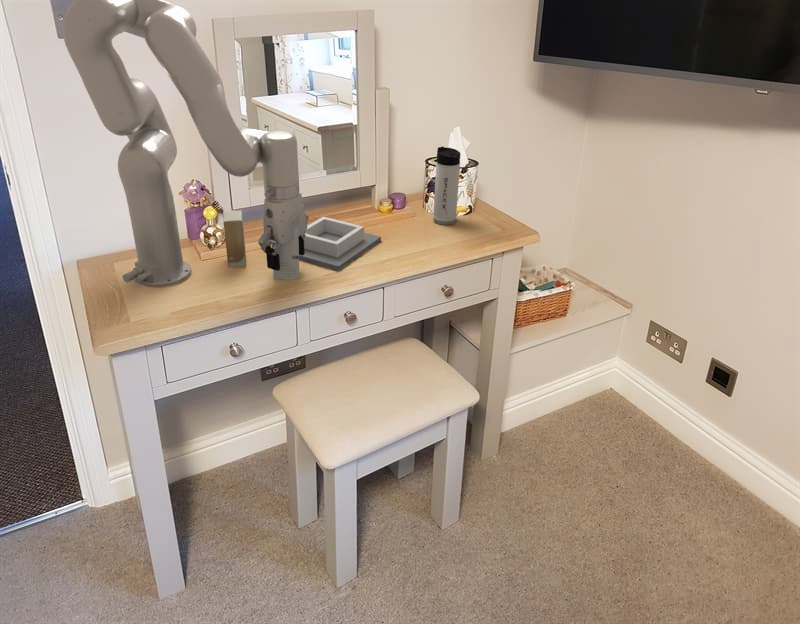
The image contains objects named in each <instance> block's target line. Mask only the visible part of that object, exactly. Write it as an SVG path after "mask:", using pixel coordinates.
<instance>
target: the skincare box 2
mask: <svg viewBox="0 0 800 624" xmlns="http://www.w3.org/2000/svg"><path fill="white" fill-rule="evenodd" d="M273 240H275V239H274V237H273ZM274 245H275V244H274V243H272V244H271V248H274ZM277 254H279V258H280V270H279V271H276V270H273V269H272V270H273V274H272V275H273V279H274V280H293V279H294V280H297V279H299V278H300V260H299V241H298V228H297V229H295V230H294V239H293V240H292V241H290V242H288V243H287V244H285V245H280V246H279V249H278V252H277Z"/></svg>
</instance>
